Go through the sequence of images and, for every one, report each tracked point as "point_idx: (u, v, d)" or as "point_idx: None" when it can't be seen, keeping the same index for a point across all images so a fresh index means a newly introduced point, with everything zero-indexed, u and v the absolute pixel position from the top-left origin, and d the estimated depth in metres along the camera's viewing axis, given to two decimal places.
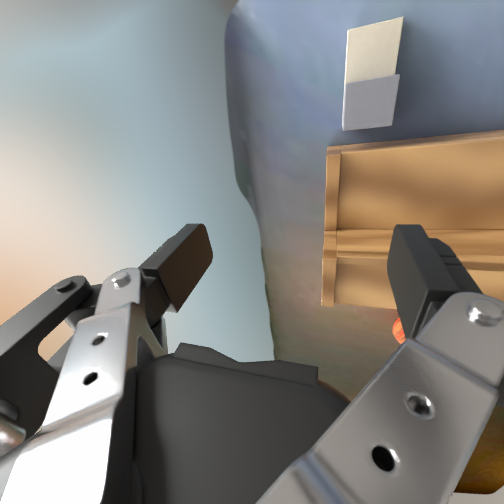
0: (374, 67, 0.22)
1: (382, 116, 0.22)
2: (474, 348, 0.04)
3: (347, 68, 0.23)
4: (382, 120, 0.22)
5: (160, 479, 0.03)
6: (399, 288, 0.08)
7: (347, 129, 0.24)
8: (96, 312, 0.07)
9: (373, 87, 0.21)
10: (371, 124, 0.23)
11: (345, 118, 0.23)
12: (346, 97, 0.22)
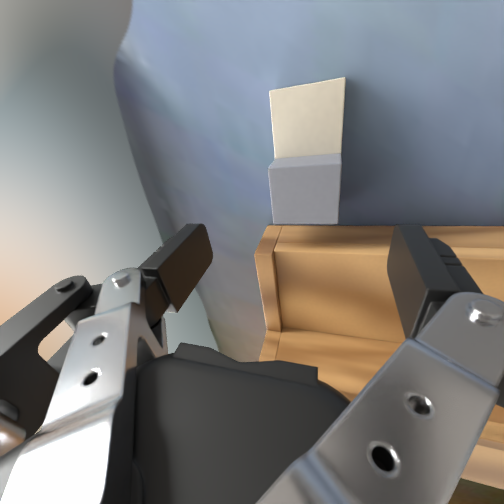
0: (311, 141, 0.15)
1: (323, 212, 0.15)
2: (474, 348, 0.04)
3: (275, 140, 0.16)
4: (323, 217, 0.16)
5: (160, 479, 0.03)
6: (399, 288, 0.08)
7: (278, 223, 0.17)
8: (95, 312, 0.07)
9: (306, 176, 0.14)
10: (309, 220, 0.16)
11: (274, 210, 0.16)
12: (271, 185, 0.15)
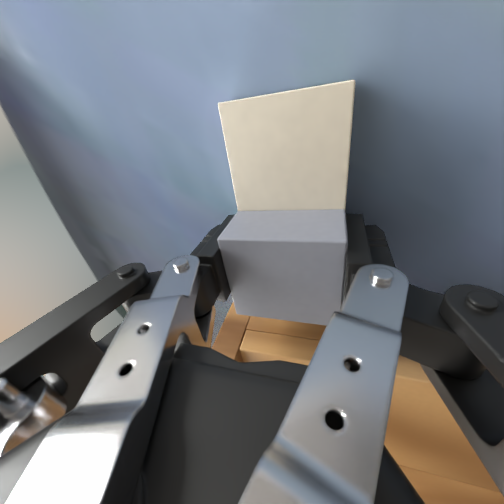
0: (295, 188, 0.09)
1: (315, 309, 0.09)
2: (380, 307, 0.05)
3: (235, 184, 0.10)
4: (316, 315, 0.09)
5: (160, 479, 0.03)
6: None
7: (244, 314, 0.10)
8: (152, 294, 0.07)
9: (282, 257, 0.08)
10: (293, 317, 0.10)
11: (234, 297, 0.10)
12: (225, 263, 0.09)
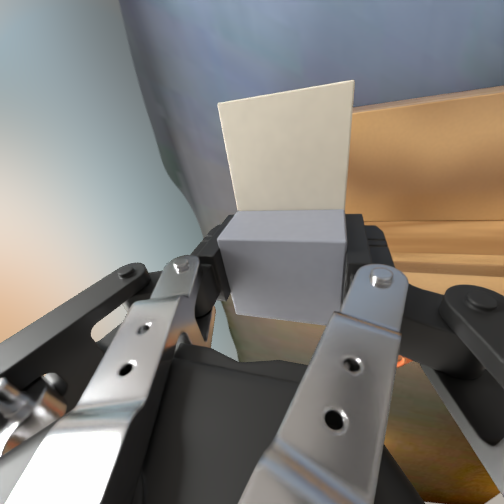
0: (295, 188, 0.09)
1: (314, 309, 0.09)
2: (380, 307, 0.05)
3: (235, 184, 0.10)
4: (315, 315, 0.09)
5: (160, 479, 0.03)
6: None
7: (244, 314, 0.10)
8: (152, 294, 0.07)
9: (282, 256, 0.08)
10: (292, 316, 0.10)
11: (234, 297, 0.10)
12: (225, 263, 0.09)
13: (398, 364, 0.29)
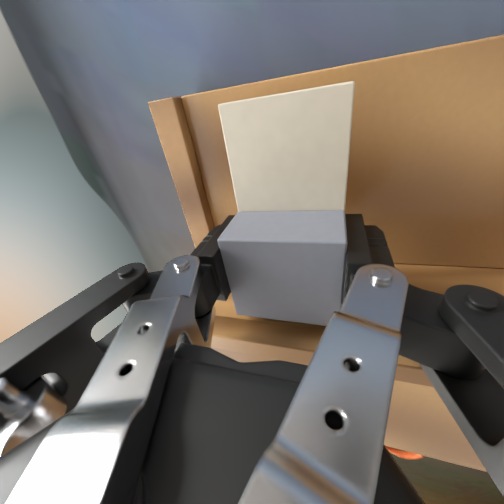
0: (295, 189, 0.09)
1: (314, 310, 0.09)
2: (380, 307, 0.05)
3: (235, 185, 0.10)
4: (316, 316, 0.09)
5: (160, 479, 0.03)
6: None
7: (244, 314, 0.10)
8: (152, 294, 0.07)
9: (282, 257, 0.08)
10: (292, 317, 0.10)
11: (234, 297, 0.10)
12: (225, 264, 0.09)
13: (412, 455, 0.20)
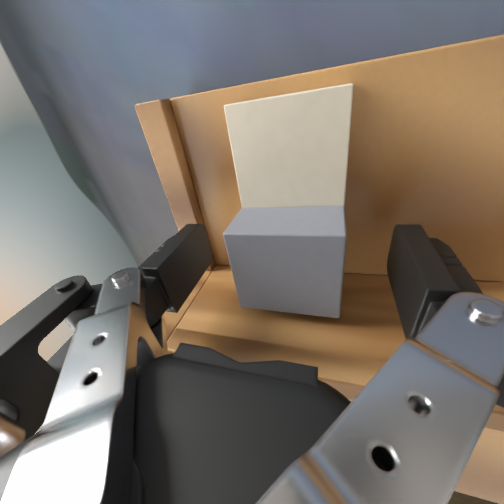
0: (297, 186, 0.10)
1: (315, 301, 0.10)
2: (474, 348, 0.04)
3: (240, 182, 0.10)
4: (316, 307, 0.10)
5: (160, 479, 0.03)
6: (399, 288, 0.08)
7: (247, 306, 0.11)
8: (96, 312, 0.07)
9: (285, 250, 0.09)
10: (294, 309, 0.10)
11: (238, 290, 0.10)
12: (230, 257, 0.09)
13: None
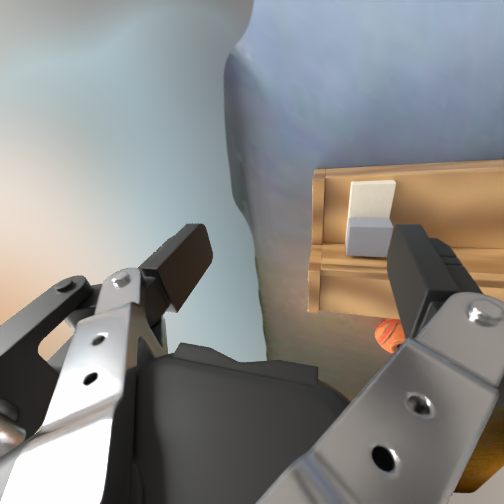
0: (372, 210, 0.27)
1: (379, 251, 0.27)
2: (474, 348, 0.04)
3: (350, 208, 0.28)
4: (379, 253, 0.27)
5: (160, 479, 0.03)
6: (399, 288, 0.08)
7: (350, 255, 0.29)
8: (96, 312, 0.07)
9: (372, 232, 0.26)
10: (370, 254, 0.28)
11: (348, 248, 0.28)
12: (349, 235, 0.27)
13: None
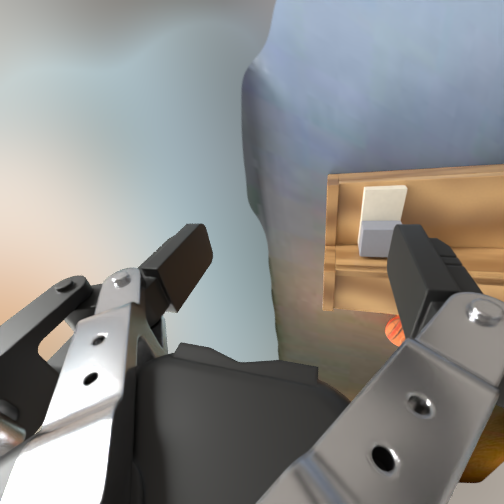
0: (384, 214, 0.29)
1: None
2: (474, 348, 0.04)
3: (363, 212, 0.29)
4: None
5: (160, 479, 0.03)
6: (399, 288, 0.08)
7: (363, 256, 0.30)
8: (96, 312, 0.07)
9: (384, 234, 0.28)
10: (382, 255, 0.30)
11: (362, 249, 0.30)
12: (363, 237, 0.29)
13: None
